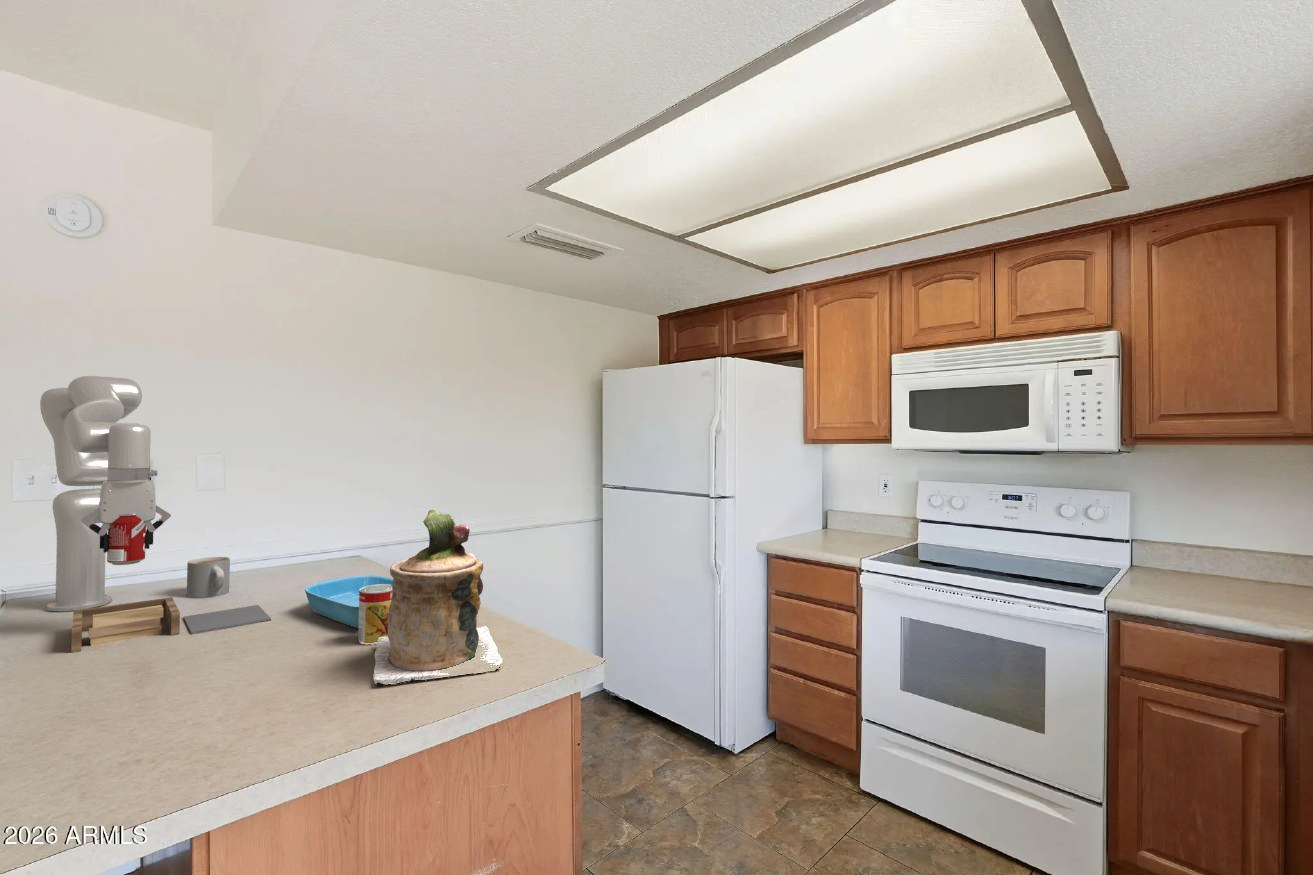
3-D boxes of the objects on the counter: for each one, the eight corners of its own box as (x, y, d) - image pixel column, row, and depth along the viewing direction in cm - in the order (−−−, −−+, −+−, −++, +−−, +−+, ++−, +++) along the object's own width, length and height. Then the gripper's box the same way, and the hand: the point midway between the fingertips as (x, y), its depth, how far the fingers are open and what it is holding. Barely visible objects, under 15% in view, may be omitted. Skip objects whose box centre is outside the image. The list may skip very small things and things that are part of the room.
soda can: (121, 567, 135) (123, 515, 135) (99, 564, 137) (100, 513, 137) (152, 560, 142) (153, 512, 142) (130, 558, 143) (131, 510, 143)
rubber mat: (183, 618, 149) (183, 616, 149) (258, 606, 160) (258, 604, 160) (191, 634, 137) (191, 632, 137) (271, 620, 148) (271, 618, 148)
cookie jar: (370, 691, 109) (373, 520, 109) (375, 647, 131) (378, 505, 131) (505, 671, 119) (507, 515, 119) (488, 634, 141) (490, 502, 141)
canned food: (401, 639, 136) (402, 588, 136) (366, 647, 130) (367, 594, 130) (387, 631, 141) (388, 582, 141) (352, 639, 136) (353, 587, 136)
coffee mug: (184, 593, 172) (185, 559, 172) (225, 587, 179) (226, 555, 179) (191, 602, 162) (192, 567, 162) (234, 596, 169) (235, 562, 170)
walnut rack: (73, 631, 137) (73, 610, 137) (171, 616, 150) (172, 597, 150) (71, 652, 125) (71, 629, 125) (179, 633, 137) (179, 612, 137)
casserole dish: (447, 616, 155) (448, 589, 155) (367, 640, 136) (367, 609, 136) (368, 594, 175) (369, 570, 175) (289, 612, 156) (289, 586, 156)
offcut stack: (88, 642, 131) (88, 615, 131) (161, 629, 140) (161, 605, 140) (88, 647, 128) (89, 620, 128) (163, 634, 137) (163, 609, 137)
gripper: (174, 473, 148) (172, 543, 148) (77, 475, 136) (75, 551, 136) (177, 475, 143) (175, 548, 143) (77, 477, 130) (75, 557, 131)
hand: (126, 549), depth 139 cm, fingers closed on soda can, 6 cm apart
